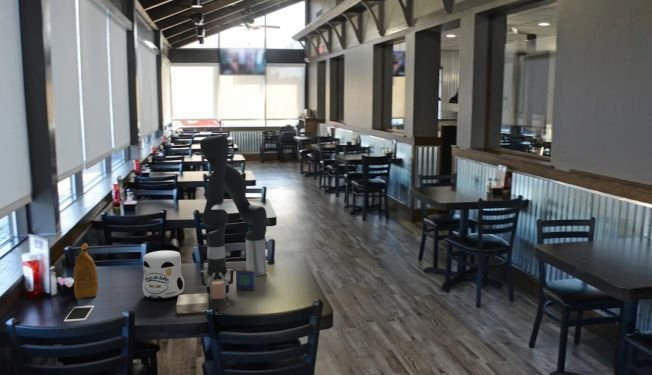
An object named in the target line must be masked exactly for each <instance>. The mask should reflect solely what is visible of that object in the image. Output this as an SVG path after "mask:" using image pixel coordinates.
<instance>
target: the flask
mask: <svg viewBox="0 0 652 375" xmlns="http://www.w3.org/2000/svg"><path fill="white" fill-rule="evenodd" d="M255 273H256V272H255V270H247V265H245V266H243V268H241V267H239V268H236V269H235V277H236V278H235V289H236V290H238V291H247V292H249V291H250V292H252V291H254V292H255V291H256V290H257V286H256V285H257V283H256V280H257V279H256V276H255Z"/></svg>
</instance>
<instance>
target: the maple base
mask: <svg viewBox="0 0 652 375" xmlns="http://www.w3.org/2000/svg"><path fill="white" fill-rule="evenodd" d="M176 301H177V302H176V314H177V315H178V314H191V313H192V314H193V313H204V312H205V311H206V310H207V309H208V310H209V294H208V293H207V292H206V293H205V292H203V293H202V292H201V293H189V294H186V293H185V294H180V295H178V296H177V300H176ZM205 313H206V312H205Z"/></svg>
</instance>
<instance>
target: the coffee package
mask: <svg viewBox="0 0 652 375" xmlns="http://www.w3.org/2000/svg"><path fill="white" fill-rule="evenodd" d="M88 247H89V244H88V243H86V242H84V243H83V244H82V245H81V246H80V250H81V252H80V253H79V255H78V257H77V258H76V261H75V263H74V270H73V292H74V298H75V299H76V300H80V299H84V298H86V299H87V298H92V297H96V296H97V294H98V290H99V277H98V276H99V275H98V271H97V266H96V263H95V261H94V259H93V258H92V256H91V255H89V253H88V250H87V248H88Z"/></svg>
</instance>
